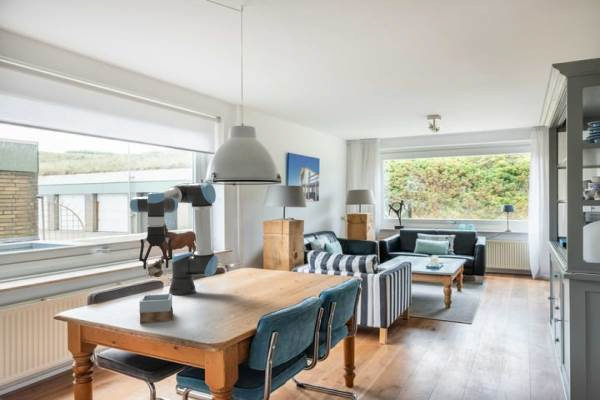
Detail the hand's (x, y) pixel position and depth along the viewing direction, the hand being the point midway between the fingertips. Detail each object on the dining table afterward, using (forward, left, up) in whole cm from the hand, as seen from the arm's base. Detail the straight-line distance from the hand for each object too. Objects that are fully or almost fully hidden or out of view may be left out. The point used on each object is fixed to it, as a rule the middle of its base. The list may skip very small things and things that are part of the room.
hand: (155, 275), depth 193 cm
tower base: (0, 0, -20) cm, 20 cm away
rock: (0, 0, 0) cm, 1 cm away
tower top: (0, 0, -15) cm, 15 cm away
